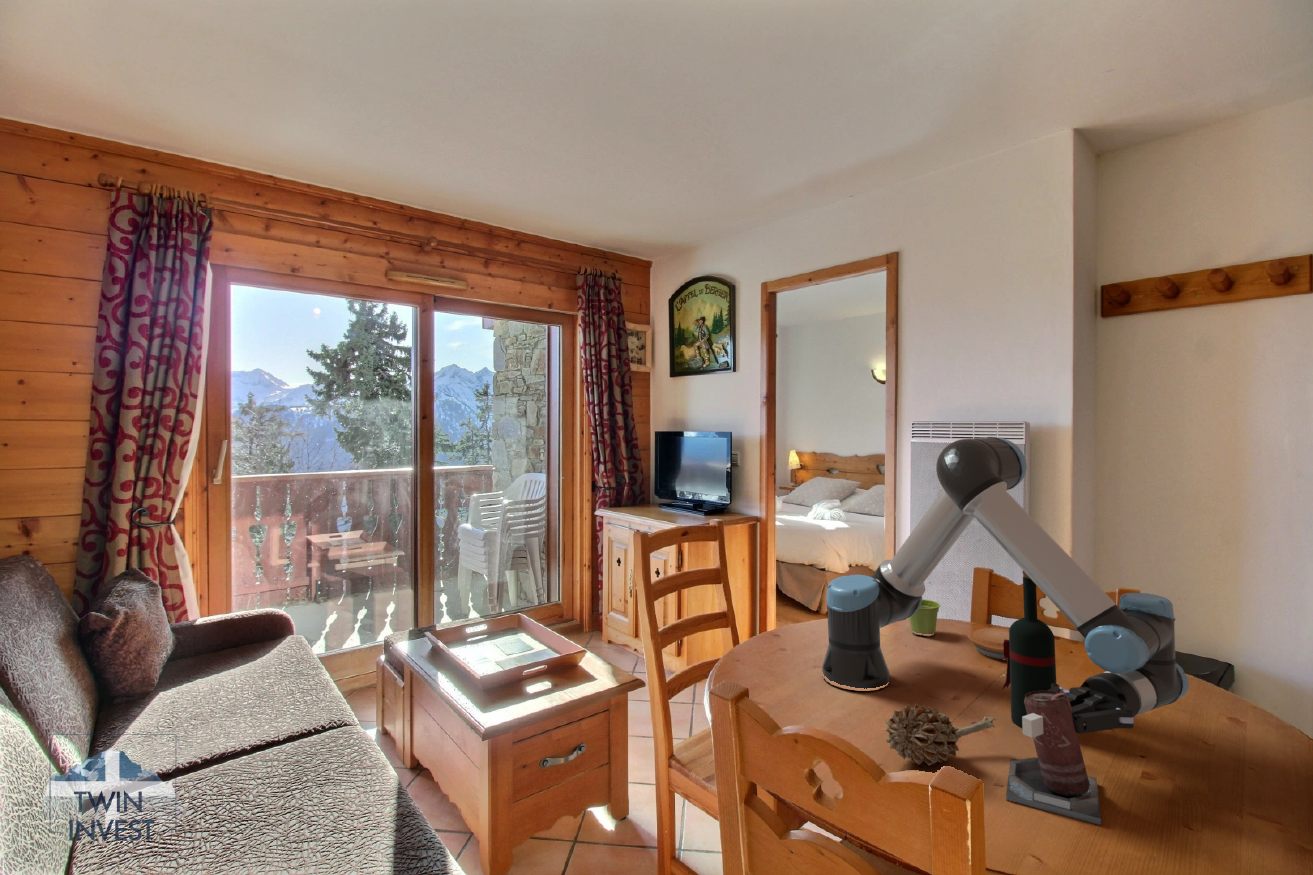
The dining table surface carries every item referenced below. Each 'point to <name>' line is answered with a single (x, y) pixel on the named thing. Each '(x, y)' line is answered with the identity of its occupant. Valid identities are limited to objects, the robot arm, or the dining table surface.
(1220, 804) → the dining table surface
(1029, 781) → the cup holder
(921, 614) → the plant pot
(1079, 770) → the can
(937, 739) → the pine cone
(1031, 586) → the wine bottle
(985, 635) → the pie
